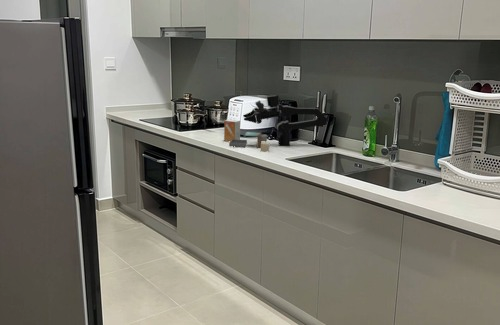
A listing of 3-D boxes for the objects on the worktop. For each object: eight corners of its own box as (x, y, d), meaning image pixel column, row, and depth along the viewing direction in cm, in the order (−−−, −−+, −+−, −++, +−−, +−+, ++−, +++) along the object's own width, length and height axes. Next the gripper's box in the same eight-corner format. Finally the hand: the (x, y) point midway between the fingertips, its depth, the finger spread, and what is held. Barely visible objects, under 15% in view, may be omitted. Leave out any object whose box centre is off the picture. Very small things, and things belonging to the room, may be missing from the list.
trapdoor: (266, 138, 291) (267, 132, 290) (266, 141, 282) (266, 135, 281) (246, 138, 292) (246, 131, 291) (245, 140, 283) (245, 134, 282)
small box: (223, 141, 301) (224, 120, 298) (229, 139, 306) (229, 119, 303) (234, 142, 297) (235, 121, 294) (240, 141, 302) (240, 120, 300)
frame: (266, 144, 294) (266, 132, 292) (265, 148, 281) (265, 135, 279) (258, 144, 294) (258, 131, 292) (256, 148, 281) (257, 135, 280)
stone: (268, 150, 277) (269, 142, 276) (268, 151, 272) (268, 144, 271) (261, 150, 277) (261, 142, 276) (260, 151, 273) (260, 144, 272)
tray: (246, 143, 294) (246, 139, 293) (245, 147, 283) (245, 143, 282) (231, 143, 295) (231, 139, 294) (229, 146, 283) (229, 142, 283)
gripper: (265, 97, 295) (240, 101, 295) (268, 103, 277) (242, 107, 277) (268, 115, 298) (243, 119, 298) (271, 121, 281) (245, 126, 280)
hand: (243, 117), depth 288 cm, fingers open, 9 cm apart
